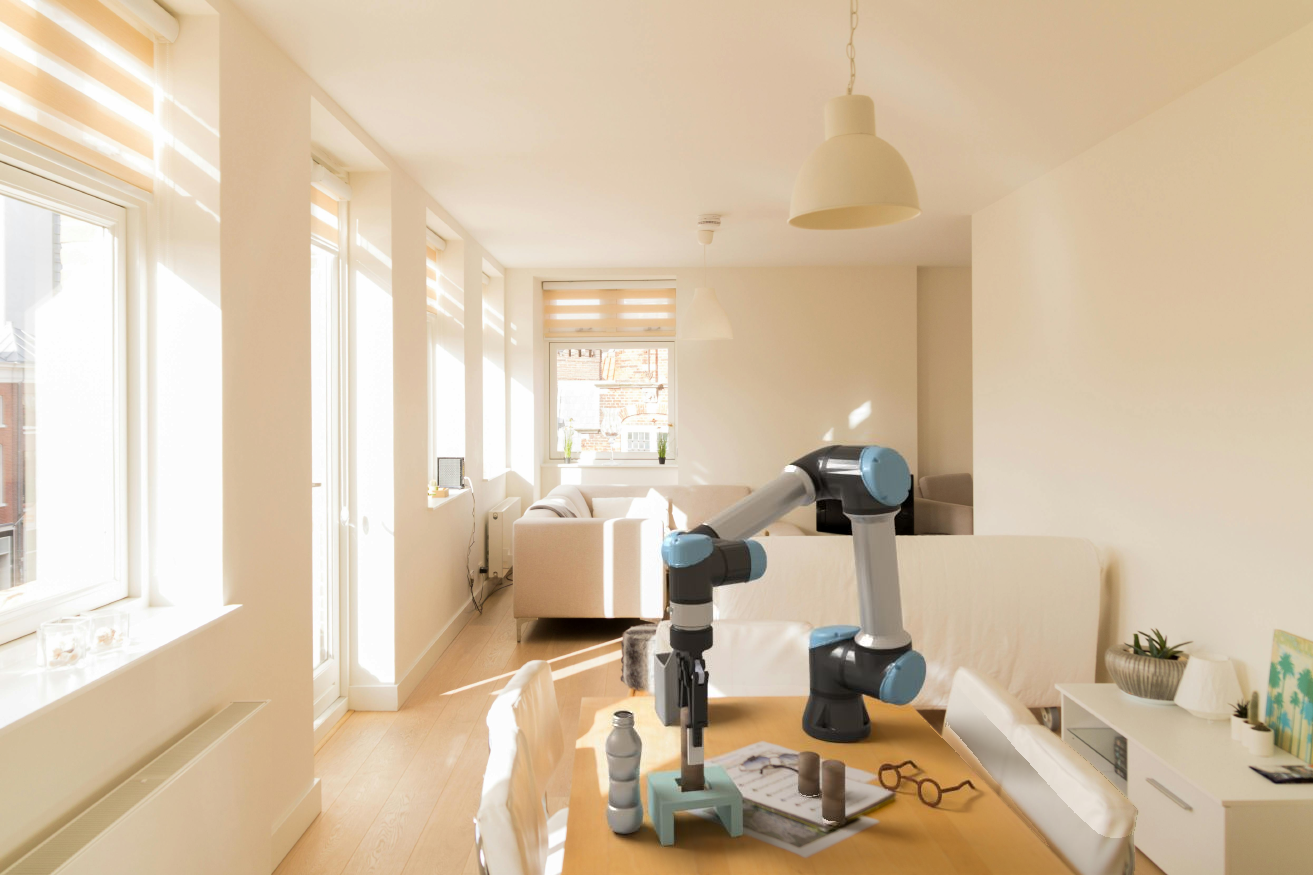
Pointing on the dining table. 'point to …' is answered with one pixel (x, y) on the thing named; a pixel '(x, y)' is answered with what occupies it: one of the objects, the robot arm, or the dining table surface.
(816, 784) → the pin short
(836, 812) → the pin medium
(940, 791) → the glasses
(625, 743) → the plastic bottle
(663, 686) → the planter
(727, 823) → the bridge
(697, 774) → the pin long
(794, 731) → the dining table surface
